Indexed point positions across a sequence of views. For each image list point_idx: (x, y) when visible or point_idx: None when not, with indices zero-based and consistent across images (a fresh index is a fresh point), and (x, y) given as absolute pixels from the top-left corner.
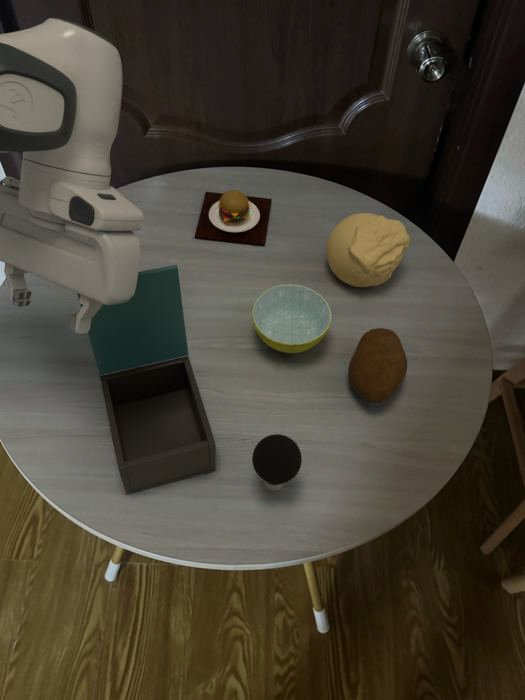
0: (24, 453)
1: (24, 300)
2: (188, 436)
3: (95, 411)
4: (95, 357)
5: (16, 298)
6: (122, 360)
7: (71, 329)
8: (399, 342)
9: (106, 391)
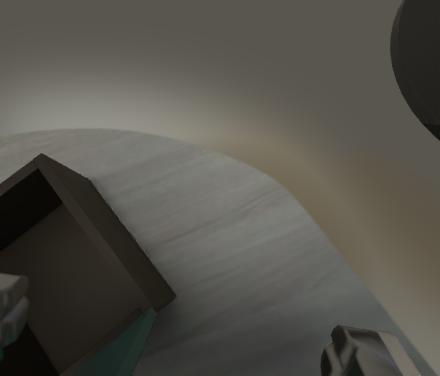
0: (246, 176)
1: (338, 366)
2: (29, 292)
3: (190, 278)
4: (139, 326)
5: (366, 351)
6: (99, 355)
7: (4, 272)
8: None
9: (125, 280)
